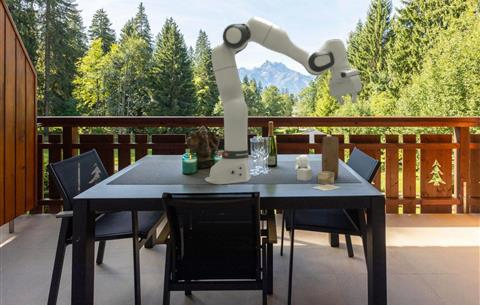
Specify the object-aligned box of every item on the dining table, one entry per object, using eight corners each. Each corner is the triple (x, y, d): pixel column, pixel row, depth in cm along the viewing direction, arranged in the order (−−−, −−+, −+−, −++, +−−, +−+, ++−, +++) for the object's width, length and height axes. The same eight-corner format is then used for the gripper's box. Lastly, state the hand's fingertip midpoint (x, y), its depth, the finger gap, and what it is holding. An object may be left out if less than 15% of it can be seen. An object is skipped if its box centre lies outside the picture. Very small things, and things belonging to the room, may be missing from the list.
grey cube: (306, 181, 177) (306, 170, 176) (296, 179, 180) (297, 169, 179) (311, 179, 180) (311, 169, 180) (302, 178, 184) (302, 167, 183)
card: (324, 191, 156) (324, 190, 156) (312, 188, 162) (312, 187, 162) (340, 187, 162) (340, 186, 162) (328, 184, 167) (328, 184, 167)
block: (338, 179, 178) (339, 137, 176) (322, 179, 179) (323, 137, 176) (335, 175, 189) (336, 135, 186) (320, 175, 190) (321, 135, 187)
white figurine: (294, 172, 213) (295, 167, 198) (293, 158, 215) (295, 151, 200) (309, 173, 212) (312, 167, 197) (308, 158, 214) (311, 151, 199)
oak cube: (326, 185, 168) (326, 174, 167) (317, 183, 172) (318, 172, 171) (333, 183, 171) (334, 172, 170) (325, 181, 175) (325, 171, 174)
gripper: (323, 79, 181) (330, 107, 182) (349, 72, 161) (356, 103, 163) (334, 76, 183) (340, 104, 184) (360, 69, 163) (368, 100, 165)
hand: (348, 104), depth 173 cm, fingers open, 8 cm apart
